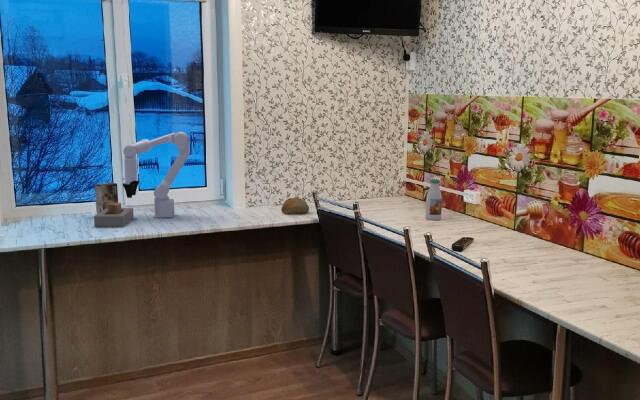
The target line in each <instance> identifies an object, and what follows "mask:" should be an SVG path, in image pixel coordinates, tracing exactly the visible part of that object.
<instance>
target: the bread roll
mask: <svg viewBox="0 0 640 400" xmlns="http://www.w3.org/2000/svg"><path fill="white" fill-rule="evenodd" d="M280 211H281V213H283V214H307V213H308V212H309V211H310V207H309V205H308V203H307V202H306V200H304V199H302V198H299V197H292V198H287V199H286V200H285V201H284V202H283V204H282V206H281V209H280Z"/></svg>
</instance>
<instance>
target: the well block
mask: <svg viewBox="0 0 640 400" xmlns="http://www.w3.org/2000/svg"><path fill="white" fill-rule="evenodd" d="M121 211H122V212H121V213H120V214H108V208H106V209H104V210H103V211H101V212H100V213H98V214H97V213H96V214H95V215H93V223H94V226H93V227H94V228H114V227H115V228H124V227H125V226H126V225H127V224H128V223H129V222H130V221H132V220H133V219H134V218H135V217H134V215H135V214H134V207H121Z"/></svg>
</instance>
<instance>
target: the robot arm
mask: <svg viewBox="0 0 640 400" xmlns="http://www.w3.org/2000/svg"><path fill="white" fill-rule="evenodd" d="M166 143H170V144H175V146H176V147H177V149H178V151H179V153H178V155H177V157H176V158H175V160H174V162H173V163H172V165H171V167H170V168H169V169H168V171H167V173H166V174H165V176H164V178H163V180H162V181H161V183H160V184H158V185H157V187H156V188H155V189H154V191H153V195H154V201H153V202H154V215H152V218H157V219H158V218H159V219H160V218H173V217H174V216H175V213H176V212H175V200H174V199H173V198H170V196H168V194H169V192H170V187H171V185H172V184H173V183H174V181H175V179H176V177H177V175H178V174H179V172H180V171H181V169H182V168H183V166H184V164H185V163H186V161H187V160H188V158H189V157H190V154H191V149H190V146H191V145H190V138H189V136H188V134H187V132H184V131H179V132H173V133H169V134H166V135H162V136H159V137H157V138H153V139H151V140H149V139H147V138H143V139H141V140H140V141H137V142H132V143H131V144H127V145H126V146H124V148H123V154H124V177H122V179H121V180H123V181H124V183H122V187H123V188H124V191H125V194H126V198H127V199H132V198H133V196H136V194H137V189H138V185H139V183H140V180H138V172H137V171H138V169H137V168H138V167H137V166H138V164H137V163H138V162H137V155H140V154H144V153H146V152H147V153H148V152H149V151H151V150H152V148H153V147H156V146H159V145H163V144H166Z"/></svg>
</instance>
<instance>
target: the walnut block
mask: <svg viewBox="0 0 640 400" xmlns="http://www.w3.org/2000/svg"><path fill="white" fill-rule="evenodd" d="M121 208H122V202H118V203H110V204H108V214H120V213H121V212H122V211H121Z"/></svg>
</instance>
